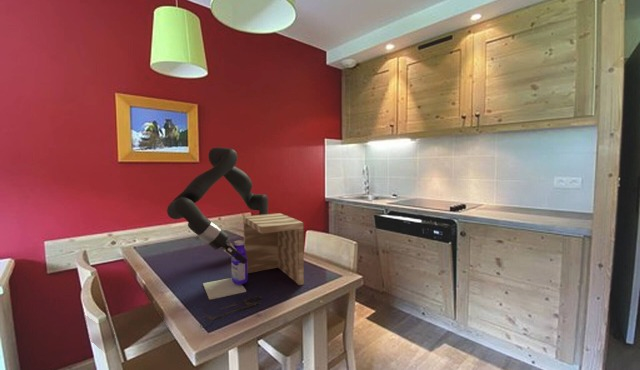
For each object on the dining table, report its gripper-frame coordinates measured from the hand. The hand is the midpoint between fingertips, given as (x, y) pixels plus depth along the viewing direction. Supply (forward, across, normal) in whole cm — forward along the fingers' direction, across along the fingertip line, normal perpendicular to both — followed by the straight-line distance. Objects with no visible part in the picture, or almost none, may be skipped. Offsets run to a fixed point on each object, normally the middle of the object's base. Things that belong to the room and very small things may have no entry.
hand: (242, 259), depth 124 cm
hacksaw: (+2, -21, +14) cm, 25 cm away
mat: (+2, 0, +13) cm, 13 cm away
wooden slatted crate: (+17, 0, -2) cm, 17 cm away
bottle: (+6, 0, +8) cm, 10 cm away
